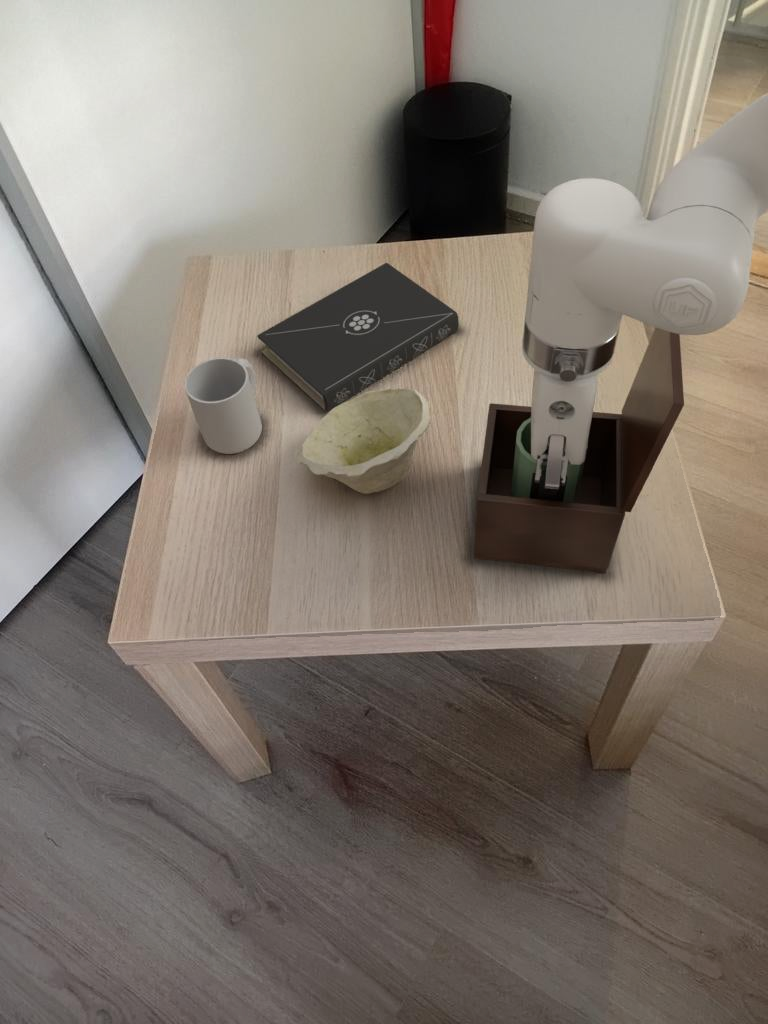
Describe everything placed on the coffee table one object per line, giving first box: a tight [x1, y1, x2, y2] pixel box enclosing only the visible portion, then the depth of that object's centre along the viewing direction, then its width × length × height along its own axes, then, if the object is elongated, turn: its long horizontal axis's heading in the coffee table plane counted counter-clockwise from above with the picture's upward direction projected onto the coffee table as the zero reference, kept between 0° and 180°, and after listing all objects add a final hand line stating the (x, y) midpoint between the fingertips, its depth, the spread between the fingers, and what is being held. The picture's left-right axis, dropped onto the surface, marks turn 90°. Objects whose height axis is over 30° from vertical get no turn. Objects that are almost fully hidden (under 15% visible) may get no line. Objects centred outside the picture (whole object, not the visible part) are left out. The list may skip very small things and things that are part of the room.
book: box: [256, 262, 460, 413], centre depth 101 cm, size 22×15×3 cm
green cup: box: [511, 418, 588, 503], centre depth 78 cm, size 7×7×8 cm
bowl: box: [297, 387, 432, 495], centre depth 86 cm, size 15×14×10 cm
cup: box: [183, 357, 263, 455], centre depth 92 cm, size 7×10×9 cm
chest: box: [473, 402, 626, 574], centre depth 80 cm, size 14×13×10 cm
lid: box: [621, 327, 685, 513], centre depth 69 cm, size 14×13×1 cm
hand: (547, 471), depth 78 cm, fingers closed on green cup, 6 cm apart
